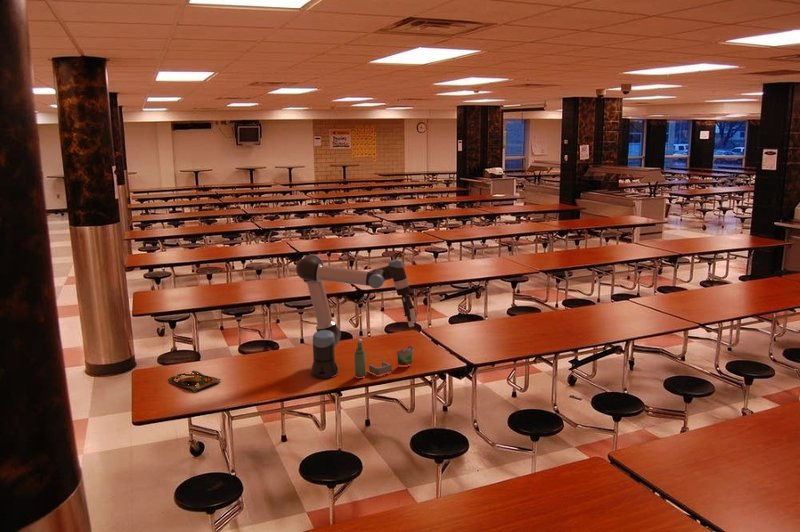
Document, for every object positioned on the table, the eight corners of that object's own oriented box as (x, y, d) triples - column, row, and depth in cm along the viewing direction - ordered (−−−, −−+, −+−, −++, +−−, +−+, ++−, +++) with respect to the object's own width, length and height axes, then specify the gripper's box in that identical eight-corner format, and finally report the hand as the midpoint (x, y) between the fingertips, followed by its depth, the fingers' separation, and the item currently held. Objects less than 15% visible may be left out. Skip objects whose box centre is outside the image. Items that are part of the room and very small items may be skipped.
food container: (405, 370, 345) (405, 353, 343) (396, 367, 349) (396, 350, 347) (418, 363, 355) (418, 347, 353) (409, 361, 358) (409, 345, 356)
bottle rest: (366, 372, 342) (366, 363, 341) (381, 368, 348) (381, 360, 347) (377, 377, 334) (377, 369, 333) (392, 373, 340) (391, 365, 339)
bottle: (353, 376, 335) (352, 339, 331) (361, 374, 339) (361, 337, 334) (358, 379, 331) (358, 342, 327) (367, 377, 334) (366, 340, 330)
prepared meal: (163, 375, 330) (192, 365, 344) (164, 381, 331) (193, 371, 344) (194, 390, 313) (223, 378, 327) (194, 396, 314) (224, 385, 328)
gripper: (406, 290, 326) (417, 327, 329) (410, 280, 350) (421, 315, 353) (393, 293, 327) (404, 331, 330) (398, 284, 352) (408, 319, 354)
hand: (412, 323), depth 342 cm, fingers open, 13 cm apart
